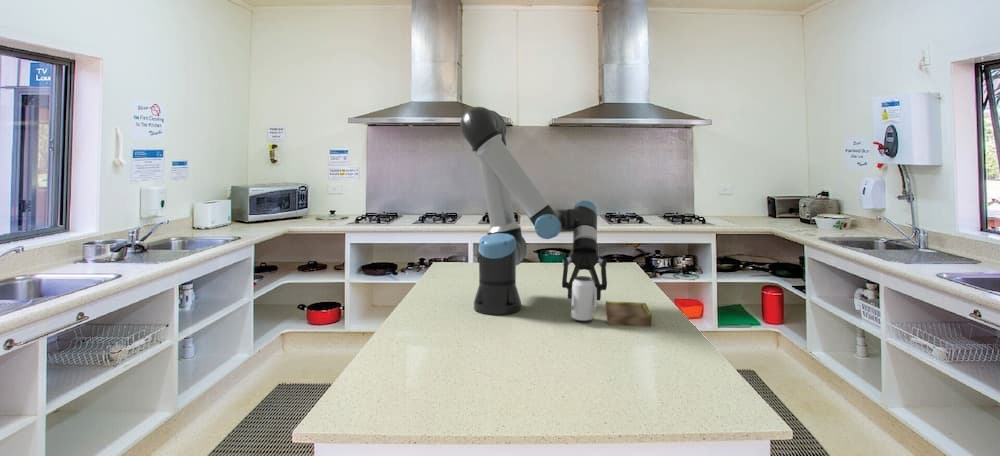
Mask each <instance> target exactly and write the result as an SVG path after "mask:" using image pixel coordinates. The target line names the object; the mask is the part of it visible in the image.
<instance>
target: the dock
mask: <svg viewBox="0 0 1000 456" xmlns="http://www.w3.org/2000/svg"><path fill="white" fill-rule="evenodd" d="M605 315H606V317H605V318H606V321H607V326H625V327H626V326H629V327H631V326H632V327H648V328H649V327H652V317H653V316H652V312H651V310H650V309H649V307H648V305H647V303H646V302H630V301H628V302H627V301H605Z"/></svg>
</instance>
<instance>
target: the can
mask: <svg viewBox="0 0 1000 456" xmlns="http://www.w3.org/2000/svg"><path fill="white" fill-rule="evenodd" d="M572 289H573V293H574V310H571V309H570V317H571V318H572V319H573V320H575V321H579V322H580V321H581V322H588V321H591V320H593V319H594V289H595V284H594V281H593V278H592V277H591V276H584V275H577V277H574V281H573V283H572Z"/></svg>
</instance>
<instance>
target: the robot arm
mask: <svg viewBox="0 0 1000 456" xmlns="http://www.w3.org/2000/svg"><path fill="white" fill-rule="evenodd" d="M459 124H460V132H461V134H462V136H463V138H464V139H465V140H466V142H467V143H469V146H470V147H471V150H472V153H473V154H474V155H475V156H476V157H477V158H478V163H479V167H480V175H481V179H482V184H483V185H482V186H483V191H484V198H485V202H486V203H485V204H486V207H487V208H486V209H487V214H488V221H489V224H490V225H489V226H490V227H489V228H488V230H487V231H486V232H487V233H486V235H483V236H482V237H481V238H480V239H479V242H478V263H479V264H478V267H479V268H478V278H479V279H478V281H479V282H478V288H477V291H476V294H475V297H474V301H473V310H474V311H475V312H478V313H481V314H485V315H496V316H497V315H498V316H500V315H501V316H502V315H509V314H514V313H517V312H520V310H521V309H522V301H521V297H520V294H519V292H518V288H517V281H516V279H517V278H516V275H517V272H516V271H517V266H519V265H520V264H521V263H523V261H524V259H525V257H526V255H527V252H528V251H527V250H528V249H527V247H528V246H527V243H526V240H525V237H523V234H522V229H521V225H519V224H518V223H517V222H516V219H515V213H514V208H513V201H512V198H513V199H514V200H515V201H516V203H517V204H518V206H519V207H520V208H521V210H522V211H523V213H524V214H525V215H526V216H527V217H528V219H529V221H530V222H531V223H532V225H533V227H534V230H535V234H536V235H537V236H538V237H540V238H541V239H544V240H551V239H553V238H556V237H557V236H558V235H559V234H560V233H571V232H572V233H573V234H572V254H571V256H569V257H567V256H566V255H565V256H564V255H563V256H562V265H563V271H562V281H561V287H562V288H563V289H566V290H567V299H569V300H571V301H570V302H571V308H570V311H571V310H574V293H573V289H572V283H573V281H574V277H577V276H579V275H578V274H579V273H580V271H581V270H585V271H588V272H589V274H590V277H591V278H593V281H594V284H595V289H594V311H593V313H594V312H595V313H596V312H597V311H598V310H597V308H598V301H601V298H602V292H601V291H606V290H607V286H608V281H607V280H608V279H607V264H608V259H607V257H605V258H600V257H599V255H598V230H597V229H598V211H597V206H596V205H595V203H594V202H592V201H590V200H580V201H579V202H576V203H575V204H574V206H573V208H568V209H553V207H551V206H550V205H549V204H550V203H548V201H547V200H546V198H544V196H543V194H542V193H541V192H540V191H539V189H538V188H537V186H536V185H535V184H534V182H533V181H532V179H531V178H530V177H529V176H528V174H527V173H526V172H525V170H524V169H523V168H522V166H521V165H520V162H518V160H517V159H516V158H515V156H514V155H513V154H512V152H511V151H510V150H509V148H508V147H507V139H506V135H507V124H506V122H505V119H504V118H503V117H502V116H501V115H500V114H499V113H498V112H497V111H495V110H492V109H488V108H486V107H483V106H473V107H471V108H469V109H468V110H466V111H465V112H464V114H463V115H462V116H461V120H460V123H459ZM571 262H572V264H573V265H574V268H573V271H572V273H571V276H570V278H569V281H567V280H568V272H569V271H568V270H569V265H570V264H571ZM597 264H598V265H599V267H600V273H601V274H600V275H601V281H600V280H599V277H598V274H597V272H596V271H597V270H596V269H595V266H596V265H597Z"/></svg>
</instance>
